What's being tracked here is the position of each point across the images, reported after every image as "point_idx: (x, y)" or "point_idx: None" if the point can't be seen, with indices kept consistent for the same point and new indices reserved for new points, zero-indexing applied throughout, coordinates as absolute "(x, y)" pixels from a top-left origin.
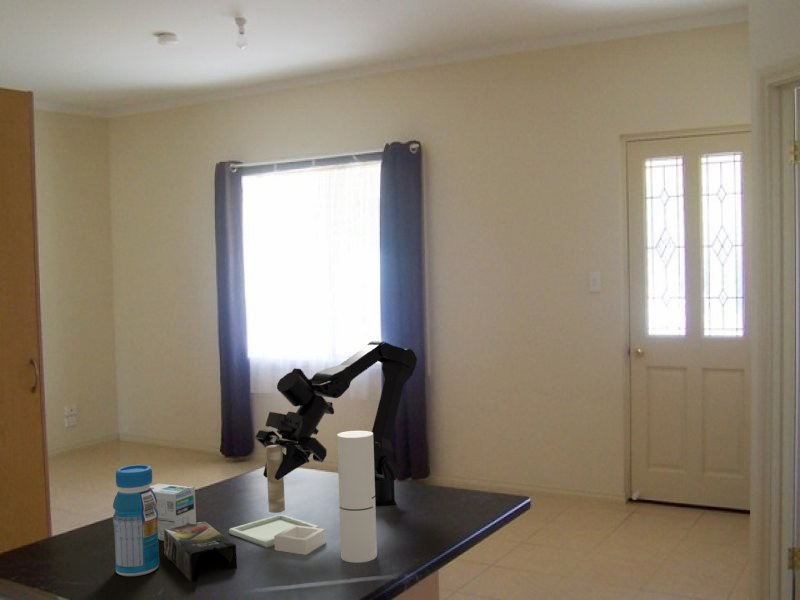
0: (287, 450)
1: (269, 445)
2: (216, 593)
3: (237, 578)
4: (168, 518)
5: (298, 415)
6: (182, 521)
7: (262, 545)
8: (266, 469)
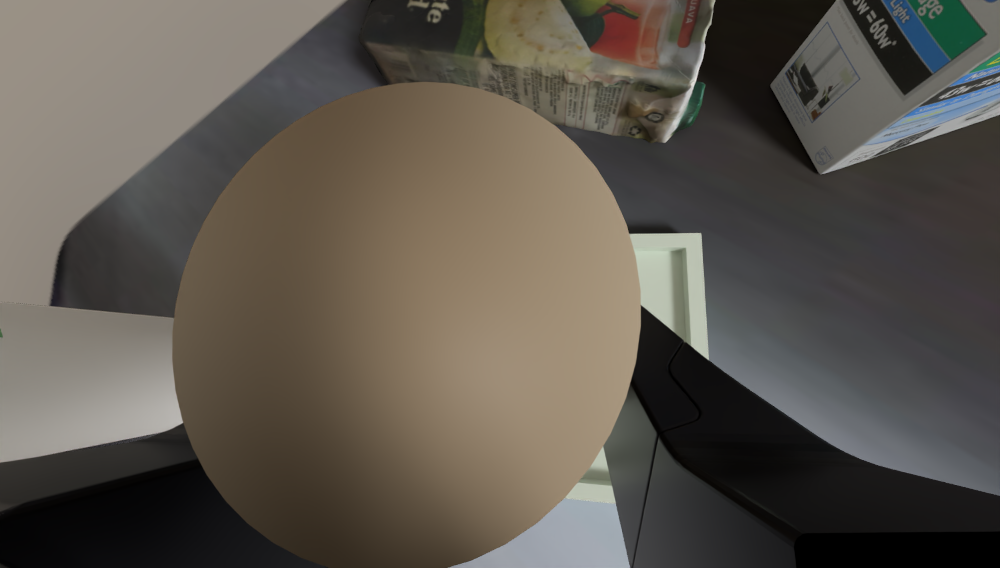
0: (138, 464)
1: (920, 516)
2: (332, 11)
3: (360, 80)
4: None
5: None
6: (828, 55)
7: None
8: None
